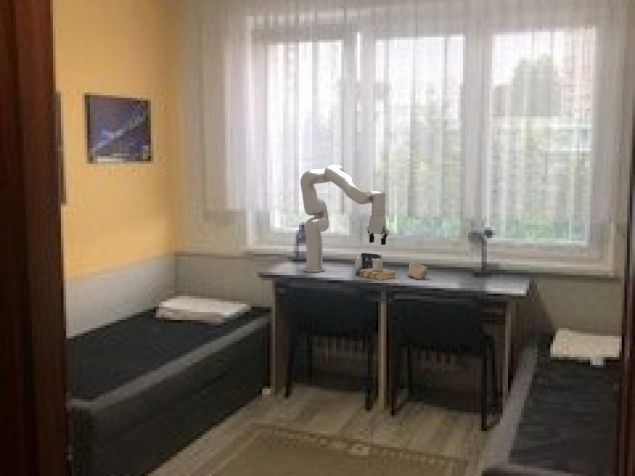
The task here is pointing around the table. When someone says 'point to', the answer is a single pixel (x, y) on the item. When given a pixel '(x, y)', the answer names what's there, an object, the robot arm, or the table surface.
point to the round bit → (358, 265)
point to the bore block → (377, 274)
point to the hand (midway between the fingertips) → (377, 243)
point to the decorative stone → (417, 271)
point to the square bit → (377, 265)
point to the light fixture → (369, 259)
